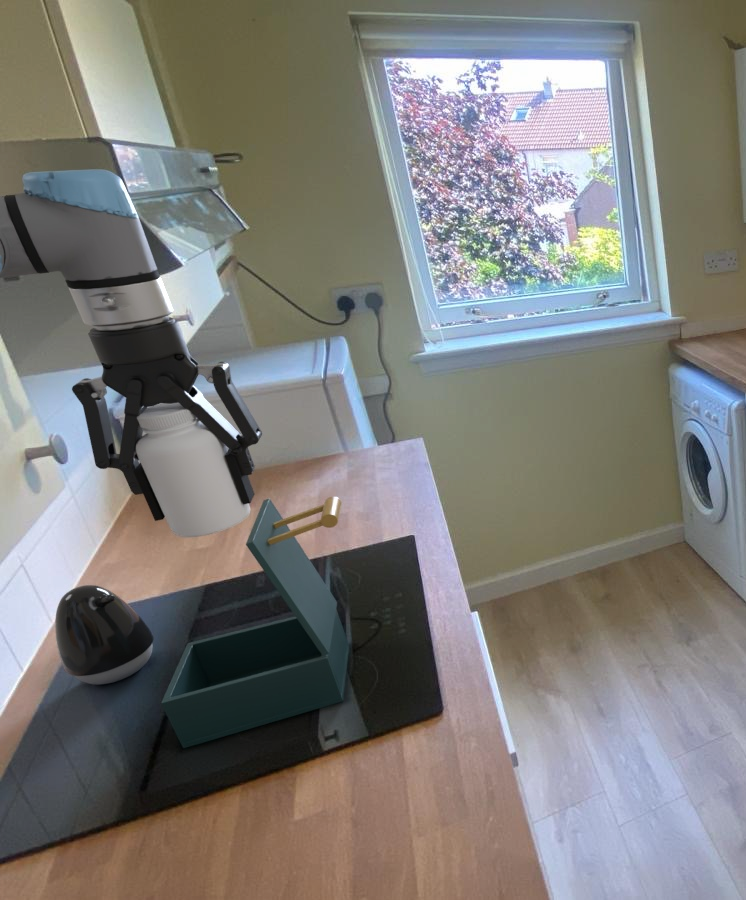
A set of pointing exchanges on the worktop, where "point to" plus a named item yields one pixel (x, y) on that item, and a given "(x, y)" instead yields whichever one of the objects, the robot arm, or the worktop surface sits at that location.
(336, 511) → the bin lid
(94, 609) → the black rounded egg shape
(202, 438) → the pill bottle
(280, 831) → the worktop surface
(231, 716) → the bin
